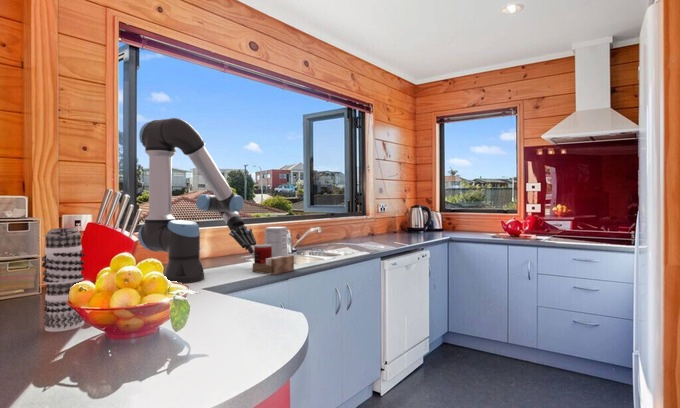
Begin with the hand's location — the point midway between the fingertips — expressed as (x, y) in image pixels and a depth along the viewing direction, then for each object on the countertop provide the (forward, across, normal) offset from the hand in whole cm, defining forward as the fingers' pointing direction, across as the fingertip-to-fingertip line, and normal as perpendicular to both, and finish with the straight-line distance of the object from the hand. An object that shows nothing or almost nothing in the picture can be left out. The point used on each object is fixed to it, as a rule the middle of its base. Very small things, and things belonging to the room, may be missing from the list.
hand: (257, 257), depth 188 cm
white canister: (-5, -25, -12) cm, 28 cm away
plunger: (+11, +1, +5) cm, 12 cm away
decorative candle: (+18, +88, +12) cm, 90 cm away
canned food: (+7, +1, 0) cm, 7 cm away
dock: (+11, +1, +5) cm, 12 cm away
